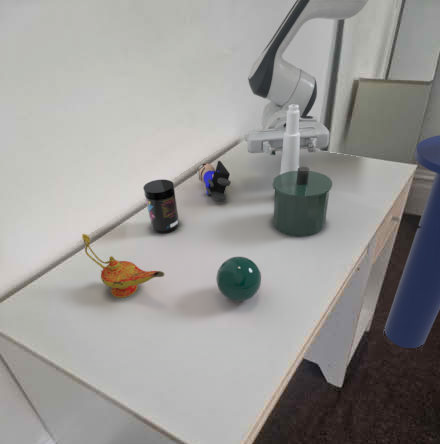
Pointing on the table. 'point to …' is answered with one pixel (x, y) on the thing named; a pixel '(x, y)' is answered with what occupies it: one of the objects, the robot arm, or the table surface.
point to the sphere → (238, 278)
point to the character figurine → (214, 180)
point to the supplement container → (162, 205)
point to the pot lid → (302, 183)
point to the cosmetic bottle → (291, 141)
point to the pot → (300, 214)
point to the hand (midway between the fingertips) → (292, 150)
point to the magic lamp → (121, 274)
